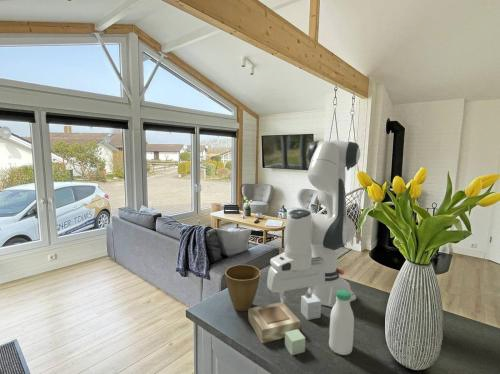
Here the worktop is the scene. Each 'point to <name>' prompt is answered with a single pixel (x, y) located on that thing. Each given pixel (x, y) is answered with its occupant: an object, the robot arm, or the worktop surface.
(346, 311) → the milk bottle
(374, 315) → the worktop surface
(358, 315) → the worktop surface
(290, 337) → the sage block
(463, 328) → the worktop surface
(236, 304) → the plant pot
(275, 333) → the birch plinth
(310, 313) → the product box
